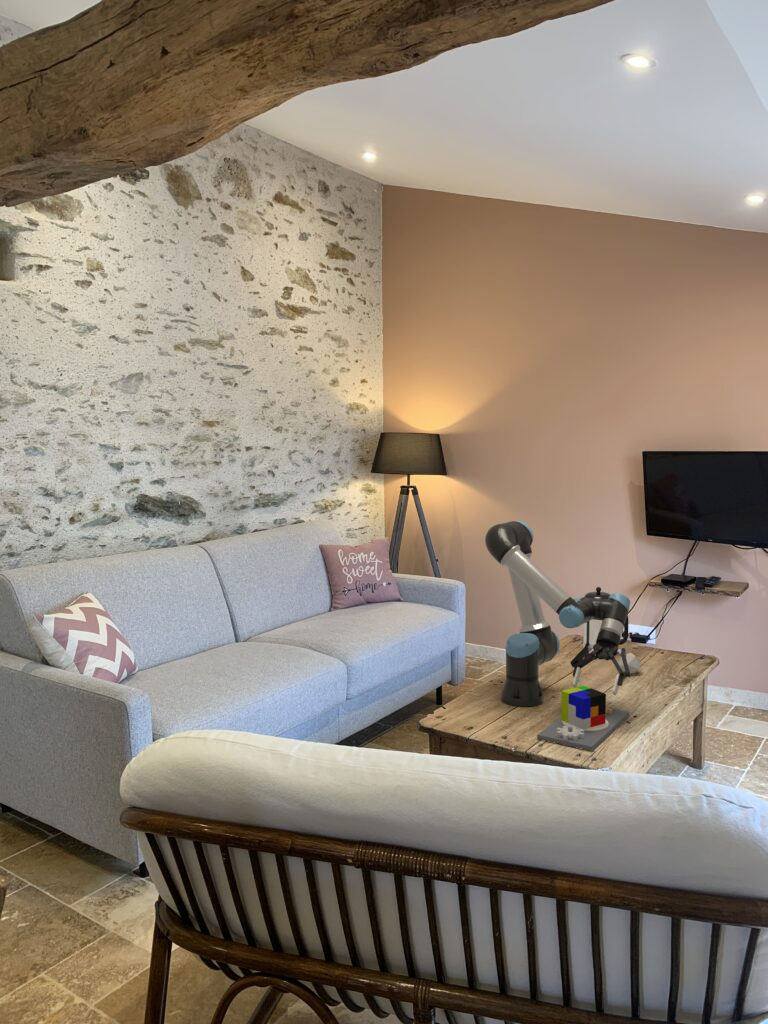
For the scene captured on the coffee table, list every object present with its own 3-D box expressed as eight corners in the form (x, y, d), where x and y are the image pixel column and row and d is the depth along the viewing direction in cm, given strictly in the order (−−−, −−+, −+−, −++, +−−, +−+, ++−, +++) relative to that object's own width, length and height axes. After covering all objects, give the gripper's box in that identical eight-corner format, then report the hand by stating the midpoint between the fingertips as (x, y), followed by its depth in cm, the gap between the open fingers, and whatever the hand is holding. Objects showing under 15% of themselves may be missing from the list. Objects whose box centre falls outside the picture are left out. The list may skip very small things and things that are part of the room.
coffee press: (598, 662, 342) (599, 592, 339) (572, 653, 356) (573, 585, 353) (628, 656, 350) (630, 587, 347) (602, 648, 364) (603, 581, 361)
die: (629, 670, 334) (615, 652, 333) (647, 663, 328) (633, 645, 327) (625, 682, 327) (611, 664, 326) (643, 675, 322) (629, 657, 321)
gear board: (591, 751, 250) (592, 738, 250) (537, 739, 260) (537, 726, 260) (629, 716, 280) (629, 704, 279) (578, 706, 290) (579, 695, 289)
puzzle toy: (582, 729, 263) (583, 699, 262) (561, 720, 271) (561, 690, 270) (605, 723, 268) (605, 693, 267) (583, 714, 276) (583, 685, 275)
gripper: (648, 645, 277) (633, 702, 267) (577, 635, 291) (561, 688, 281) (644, 634, 272) (629, 691, 262) (572, 624, 286) (555, 677, 276)
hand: (593, 689), depth 271 cm, fingers open, 13 cm apart
